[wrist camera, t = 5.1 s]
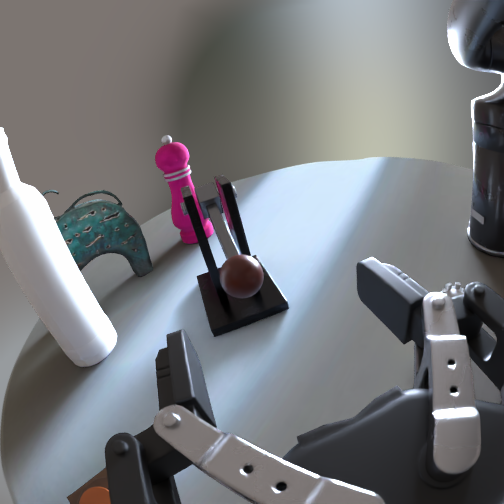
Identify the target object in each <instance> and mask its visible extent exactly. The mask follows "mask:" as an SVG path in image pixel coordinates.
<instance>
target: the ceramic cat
mask: <svg viewBox="0 0 504 504" xmlns="http://www.w3.org/2000/svg"><path fill="white" fill-rule="evenodd" d="M49 192H54V193H57V194H59V193H58V192H57V191H55V190H48V191H45V192H44V193H42V196H43V195H45V194H46V193H49ZM99 193H103V194H108V195H110V196H113V197H114V198H115V199H116V200H117V201H118V202H119V203H118V204H115V203H113V202H110V201H106V200H92V201H88V202H85V203H82V204H79V205H77V206H75V204H76V203H77V202H78V201H79V200H81V199H82V198H84V197H87V196H91V195H94V194H99ZM53 218H54V220H57V221H56V225H57V227H58V229H59V231H60V233H61V235H62V237H63V239H64V242H65V244H66V246H67V248H68V250H69V252H70V254H71V256H72V258H73V260H74V261H75V263H76V265H77V267H78V269H79V271H81V270H82V269H83V268H84V267H85V266H86V265H87V264H88V263H89V262H90V261H91V260H93V259H94V258H96V257H98V256H100V255H102V254H106V253H117V254H121V255H123V256H124V257H125V258H126V259H127V260H128V261H129V263H130V265H131V267H132V269H133V271H134V273H135V274H136V275H138V276H139V277H142V276H144V275H146V274H148V273H149V272H150V271H152V270H153V266H152V263H151V260H150V256H149V252H148V249H147V244H146V241H145V238H144V236H143V234H142V231H141V228H140V226H139V224H138V223H137V221H136V220H135V219H134V218H133V217H132V216H131V215H129V214H128V213H127V212H126V211H125V210H124V208H122V203H121V201H120V200H119V199H118V198H117V197H116V196H115V195H114V194H112V193H110V192H108V191H104V190H103V191H94V192H90V193H88V194H85V195H83V196H81V197H80V198H79V199H77V200H76V201H75V202H74V203H73V204H72V205H71V206H70V207H69V208H68V209H67V210H66V211H65V212H64V214H63V215H61V216H59V217H53Z"/></svg>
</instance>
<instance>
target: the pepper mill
mask: <svg viewBox="0 0 504 504" xmlns="http://www.w3.org/2000/svg"><path fill="white" fill-rule="evenodd" d="M171 141H172V139H171V137H170V136H168V135H166V136H164V137H163V138H162V143H163V144H164V146H162V147H161V148H160V149H159V150H158V151H157V153H156V156H155V161H156V165H157V167H158V168H159V169H160V170H162V171H164V174H163V176H164V178H165V181H166V182H168V184H169V187H170V189H171V194H172V209H171V214H172V220H173V224H174V225H175V226H176V227H177V228H179V229H181V232H180V235H181V238H182V240H183V242H184V243H187V244H193V243H198V240H197V237H196V235H195V232H194V229H193V226H192V223H191V220H190V217H189V214H188V215H184V214H183V211H182V208H181V204H180V203H183V202H184V200H183V196H182V192H181V188H182V187H185V186H188V185H189V187H190V190H191V192H192V195H193V198H194V201H195V204H196V207H197V210H198V213H199V216H200V219H201V222H202V225H203V228H204V231H205V234H206V237H207V238H208V237H210V236H211V235H212V233H213V227H212V224H211V222H210V221H208V219H209V218H207V219H204V217H203V214H202V212H201V209H200V206H199V203H198V200H197V197H196V194H195V190H194V186H193V184H192V181H191V178H190V173H191V170H190V166H189V165H187V161H188V159H189V153H188V150H187V148H186V147H185V146H184V145H183V144H181V143H177V142H174V143H171Z"/></svg>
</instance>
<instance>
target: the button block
mask: <svg viewBox="0 0 504 504" xmlns="http://www.w3.org/2000/svg"><path fill="white" fill-rule="evenodd" d="M92 487H103V488H106V489H107V490H109V489H108V481H107V471H106V468H104V469H103V470H102V471H101V472H99V473H98V474H97V475H95V476H94V477H93V478H92V479H90V480H89V481H88V482H87V483H85V484H84V485H83V486H81V487H80V488H79V489H77V490H76V491H75V492H73V493H72V494H71V495H69V496H68V497H67V499H68V500H69V502H70V504H79V502H80V499H81V496H82V495H83V493H84V492H85V491H86V490H88V489H89V488H92Z"/></svg>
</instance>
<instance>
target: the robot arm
mask: <svg viewBox="0 0 504 504" xmlns="http://www.w3.org/2000/svg"><path fill="white" fill-rule="evenodd" d="M447 30H448V39H449V44H450V47H451V49H452V52H453V53H454V55H455V57H456V58H457V60H458V61H459V62H460V63H461V64H463V65H464V66H466V67H468V68H471V69H473V70H477V71H485V72H491V73H498V74H502V81H501V85H500V87H499V88H498V89H496V90H495V91H494V92H492V93H490V94H488V95H485V96H482V97H478V98H476V99H474V100H473V101H472V104H471V111H472V124H473V157H474V158H473V160H474V161H473V189H472V204H471V215H470V222H469V229H468V239H469V241H470V242H471V243H472V245H474V246H475V247H476V248H477V249H479V250H480V251H482V252H484V253H487V254H489V255H493V256H498V257H504V0H453V2H452V4H451V7H450V10H449V14H448V22H447ZM357 291H358V295H359V297H360V299H361V301H362V302H363V303H364V304H365V305H366V306H367V307H368V308H369V309H370V310H371V311H372V312H373V313H374V314H375V315H376V316H377V317H378V318H379V319H380V320H381V321H382V322H383V323H384V324H385V325H386V326H387V327H388V328H389V329H390V330H391V331H392V333H393V334H394V335H395V336H396V337H397V338H398V339H399V340H400V341H401V342H402V343H403V344H406V343H407V342H409V341H411V340H413V341H414V342H415V345H414V386H413V389H408V390H404V391H401V389H400V388H399V387H398V386H396V387H394V388H392V389H391V390H389V391H387V392H386V393H384V394H382V395H380V396H379V397H377V398H375V399H374V400H373V401H372V402H371V403H370V404H369V405H368V406H367V407H365V408H364V409H363V410H362V411H361V412H360V413H359V414H358V415H356V416H355V417H353V418H351V419H347V420H343V421H339V422H335V423H330V424H326V425H323V426H320V427H318V428H316V429H314V430H311V431H309V432H307V433H304V434H302V435H300V436H297V439H298V442H299V443H298V444H297V445H296V446H294V447H293V448H292V449H291V450H290V451H289V452H288V453H287V454H286V455H285V456H284V457H283V459H280V458H278V457H276V456H274V455H272V454H270V453H268V452H266V451H264V450H262V449H260V448H258V447H256V446H254V445H252V444H250V443H248V442H247V441H245V440H243V439H241V438H239V437H238V436H236V435H234V434H231V433H227V434H226V433H223V432H222V431H220V430H218V429H217V426H216V423H215V419H214V415H213V411H212V408H211V404H210V400H209V396H208V392H207V388H206V384H205V379H204V375H203V371H202V367H201V363H200V360H199V358H198V355H197V353H196V351H195V349H194V348H193V346H192V344H191V342H190V340H189V338H188V336H187V334H186V332H185V331H184V329H182V330H179V331H176V332H173V333H170V334H167V348H164V349H160V350H159V352H158V355H157V357H156V360H155V361H156V371H157V372H156V376H157V388H158V399H159V412H158V413H157V415H156V416H155V418H154V422H153V425H152V426H151V427H149V428H148V429H146V430H144V431H143V432H141V433H139V434H137V435H135V436H134V437H133V436H132V435H131V434H128V433H118V434H116V435H114V436H112V437H111V438H110V439H109V441H108V442H107V444H106V447H105V460H106V471H107V481H108V489H109V496H110V503H111V504H181V501H180V498H179V494H178V491H177V487H176V483H175V479H174V476H173V475H175V474H176V473H178V472H180V471H182V470H183V469H185V468H187V467H188V466H190V465H192V464H193V465H194V466H196V467H197V468H198V469H200V470H201V471H203V472H204V473H205V474H207V475H208V476H210V477H211V478H213V479H214V480H216V481H217V482H219V483H220V484H222V485H223V486H225V487H226V488H228V489H229V490H231V491H232V492H234V493H236V494H237V495H239V496H240V497H242V498H244V499H245V500H247V501H249V502H251V503H252V504H504V299H503V298H502V297H501V296H499V295H498V294H497V293H496V292H494V291H493V290H492V289H491V288H489V287H488V286H487V285H485V284H483V283H480V282H472V283H469V284H468V285H467V286H466V287H465V291H464V294H462V295H459V296H455V297H452V298H450V297H449V296H448V295H446V294H443V293H439V292H434V293H429V292H428V291H426V290H425V289H424V288H423V287H421V286H420V285H419V284H417V283H416V282H415V281H413V280H412V279H411V278H409V277H408V276H407V275H406V274H404V273H403V272H402V271H400V270H399V269H398V268H396V267H395V266H392V265H389V264H386V263H384V264H382V263H380V262H379V261H378V260H376V259H375V258H374V257H370V258H368V259H366V260H363V261H361V262H359V263H358V264H357ZM483 322H484V323H485V324H486V325H487V326H488V327H489V328H490V329H491V330H492V331H493V332H494V333H495V334H496V337H497V342H496V341H495V340H494V339H493V338H492V337H491V336H490V335H489V334H488V333H487V332H486V331H485V330H484V329H483V328H482V324H483ZM470 358H471V359H472V360H473V361H474V362H475V363H476V364H477V365H478V366H479V368H480V369H481V370H482V371H483V372H484V373H485V374H486V375H487V376H488V378H489V379H490V380H491V381H492V382H493V383H494V384H495V386H496V387H497V388H498V389H499V390H500V391H501V398H502V402H501V404H496V403H491V402H485V401H480V400H475V395H474V385H473V377H472V369H471V362H470Z"/></svg>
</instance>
